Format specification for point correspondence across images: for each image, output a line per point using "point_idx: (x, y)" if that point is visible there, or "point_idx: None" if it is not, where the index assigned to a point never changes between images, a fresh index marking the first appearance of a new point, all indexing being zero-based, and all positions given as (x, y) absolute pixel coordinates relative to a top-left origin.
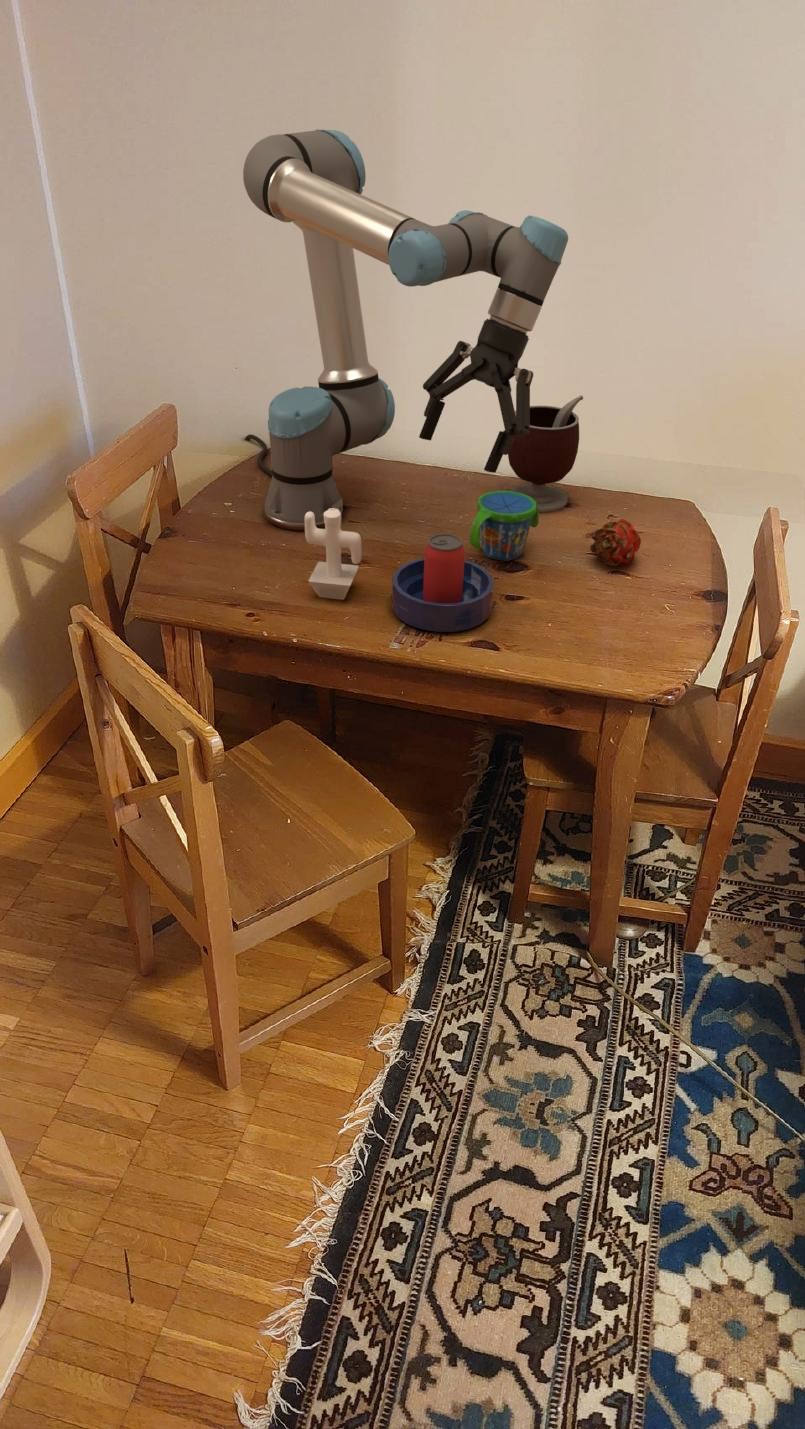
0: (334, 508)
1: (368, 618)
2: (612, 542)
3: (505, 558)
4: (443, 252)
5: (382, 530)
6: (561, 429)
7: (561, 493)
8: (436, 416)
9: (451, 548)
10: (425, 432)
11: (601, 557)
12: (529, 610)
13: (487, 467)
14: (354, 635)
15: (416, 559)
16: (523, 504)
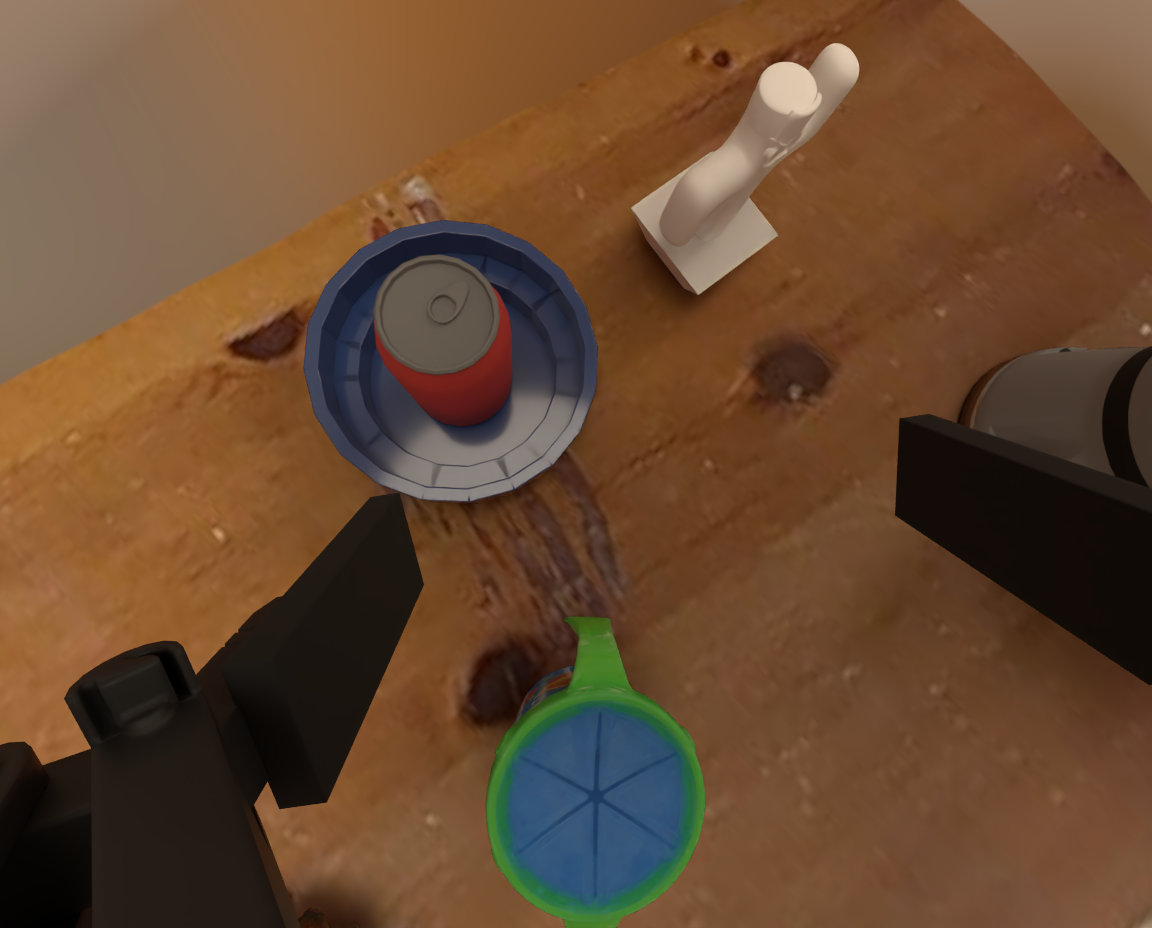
0: (811, 109)
1: (547, 226)
2: None
3: (529, 690)
4: None
5: (867, 550)
6: None
7: None
8: (1025, 548)
9: (381, 289)
10: (929, 437)
11: (312, 922)
12: (306, 547)
13: (375, 506)
14: (510, 156)
15: (595, 387)
16: (559, 857)
